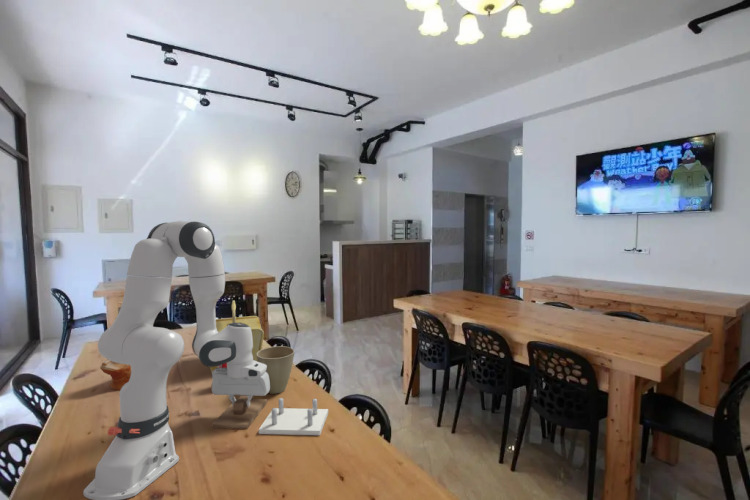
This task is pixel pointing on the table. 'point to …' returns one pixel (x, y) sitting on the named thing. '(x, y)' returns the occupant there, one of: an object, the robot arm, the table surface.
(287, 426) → the peg stand
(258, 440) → the table surface
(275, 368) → the plant pot
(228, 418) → the shelf board
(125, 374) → the brown lumpy piece
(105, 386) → the table surface
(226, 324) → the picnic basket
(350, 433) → the table surface
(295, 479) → the table surface
